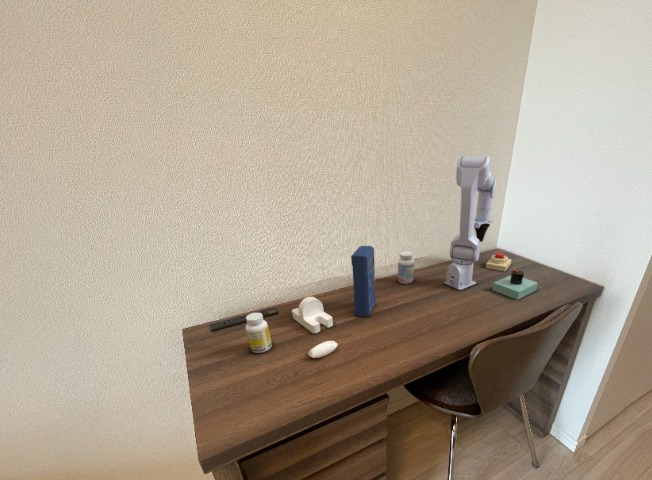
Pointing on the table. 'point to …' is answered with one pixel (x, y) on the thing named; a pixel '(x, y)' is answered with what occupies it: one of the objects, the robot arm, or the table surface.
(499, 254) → the button
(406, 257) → the pill bottle
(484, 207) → the robot arm
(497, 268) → the control block
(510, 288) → the dial panel
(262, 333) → the supplement bottle
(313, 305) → the slotted bracket
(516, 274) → the dial
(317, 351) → the white spindle
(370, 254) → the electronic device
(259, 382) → the table surface
